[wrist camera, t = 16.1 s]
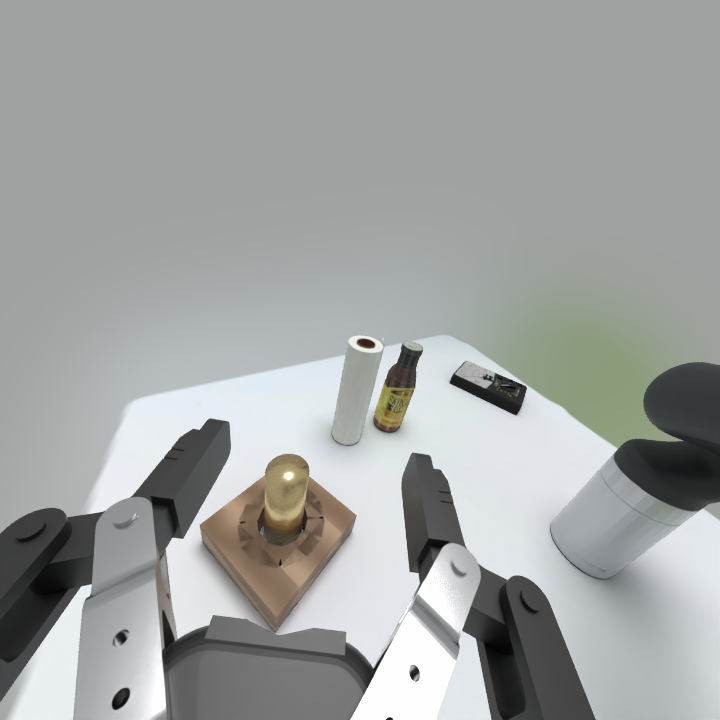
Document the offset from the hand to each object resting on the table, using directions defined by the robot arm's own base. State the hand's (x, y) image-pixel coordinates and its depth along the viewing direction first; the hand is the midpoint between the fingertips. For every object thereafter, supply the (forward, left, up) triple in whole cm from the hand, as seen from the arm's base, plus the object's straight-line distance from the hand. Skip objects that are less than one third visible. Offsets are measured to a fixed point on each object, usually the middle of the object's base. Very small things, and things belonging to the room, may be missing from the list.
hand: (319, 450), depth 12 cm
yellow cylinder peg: (-8, -10, -32) cm, 35 cm away
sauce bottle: (-39, -11, -32) cm, 52 cm away
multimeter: (-75, +3, -33) cm, 82 cm away
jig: (-8, -10, -32) cm, 35 cm away
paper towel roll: (-30, -15, -32) cm, 47 cm away
